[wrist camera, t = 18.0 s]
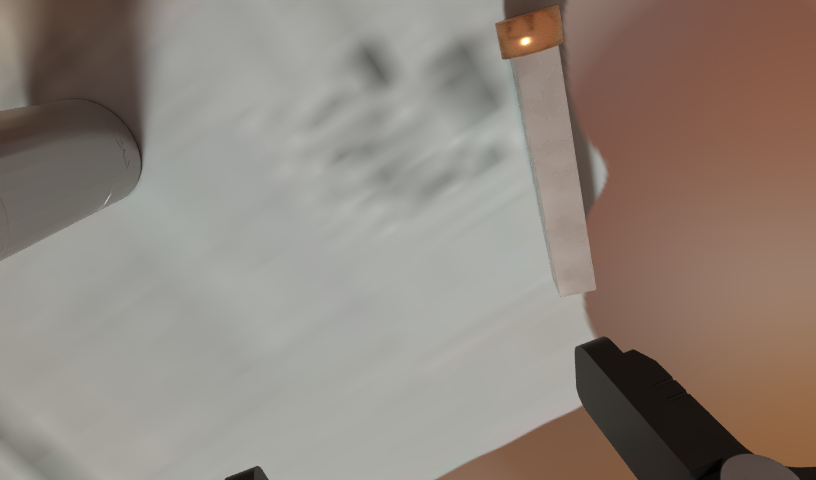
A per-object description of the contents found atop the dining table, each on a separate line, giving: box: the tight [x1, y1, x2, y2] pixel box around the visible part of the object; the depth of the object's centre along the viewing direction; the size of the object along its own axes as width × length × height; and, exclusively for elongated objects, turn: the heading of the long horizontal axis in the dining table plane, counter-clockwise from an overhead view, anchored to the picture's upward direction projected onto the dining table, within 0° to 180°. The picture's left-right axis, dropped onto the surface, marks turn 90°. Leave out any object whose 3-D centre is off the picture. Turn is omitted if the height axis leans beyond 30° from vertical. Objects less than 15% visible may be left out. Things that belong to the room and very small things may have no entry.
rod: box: [495, 5, 596, 297], centre depth 38 cm, size 4×22×4 cm, turn 16°
